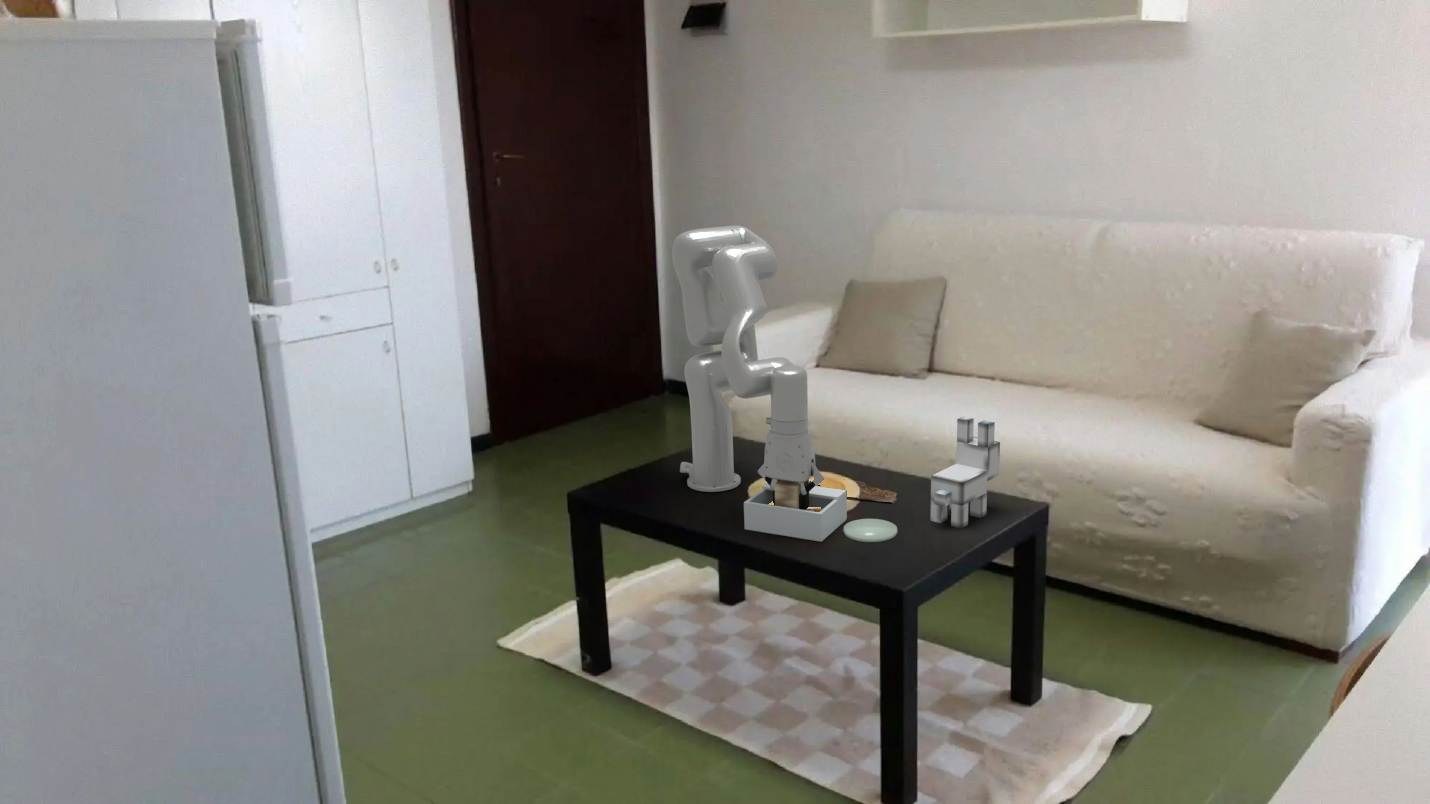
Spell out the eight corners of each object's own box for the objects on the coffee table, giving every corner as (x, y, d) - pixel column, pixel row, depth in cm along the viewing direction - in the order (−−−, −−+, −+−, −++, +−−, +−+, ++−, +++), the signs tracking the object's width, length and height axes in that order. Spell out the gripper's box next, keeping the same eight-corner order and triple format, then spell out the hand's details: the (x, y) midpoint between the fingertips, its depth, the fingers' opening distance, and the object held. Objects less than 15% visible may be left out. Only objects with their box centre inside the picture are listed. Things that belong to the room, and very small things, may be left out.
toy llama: (924, 524, 241) (924, 433, 236) (967, 500, 254) (969, 413, 248) (955, 532, 236) (956, 439, 231) (998, 507, 249) (1000, 419, 243)
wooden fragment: (909, 498, 257) (909, 493, 257) (877, 511, 250) (877, 506, 250) (824, 473, 276) (824, 469, 276) (792, 485, 269) (792, 481, 269)
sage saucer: (835, 537, 236) (835, 533, 236) (855, 519, 245) (855, 515, 245) (886, 545, 231) (886, 541, 231) (904, 526, 240) (904, 523, 240)
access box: (744, 529, 242) (743, 499, 241) (772, 507, 254) (771, 479, 252) (821, 541, 234) (821, 511, 232) (846, 519, 246) (846, 490, 244)
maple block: (775, 515, 241) (774, 483, 239) (785, 507, 245) (784, 476, 243) (797, 518, 238) (796, 487, 236) (806, 510, 243) (806, 479, 241)
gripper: (744, 426, 237) (746, 508, 242) (820, 435, 229) (821, 520, 234) (760, 416, 244) (762, 496, 248) (835, 425, 236) (835, 508, 241)
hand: (791, 507), depth 241 cm, fingers closed on maple block, 5 cm apart
